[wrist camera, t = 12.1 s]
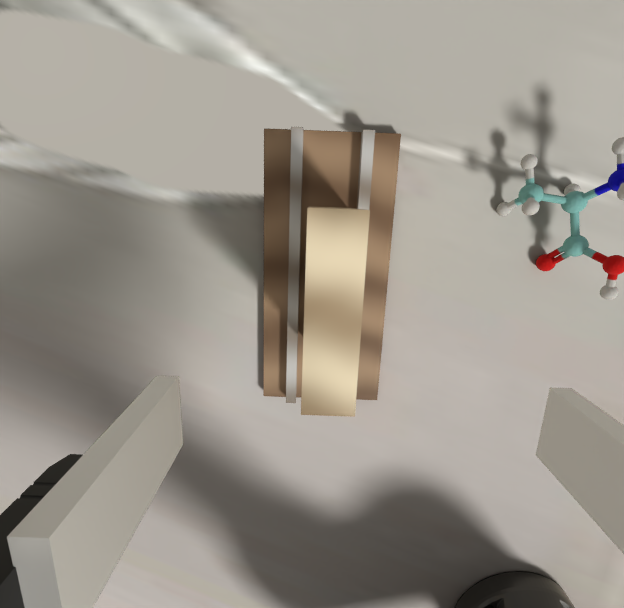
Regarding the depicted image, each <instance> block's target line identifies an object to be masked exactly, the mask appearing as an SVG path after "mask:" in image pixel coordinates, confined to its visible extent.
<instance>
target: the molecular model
mask: <svg viewBox="0 0 624 608" xmlns="http://www.w3.org/2000/svg"><path fill="white" fill-rule="evenodd" d="M612 151H613V152H614V153H615V154H617V171H615V172H614V173H613V174H611V176H610V177H609V180H608V183H606V184H604V185H602V186H599V187H597V188H595V189H593V190H591V191H589V192H587V193H583V192H580V187H579V185H577V184H569V185H568V186H567V187H565V189H564V195H565V196H564V197H563V196H557V195H551V194H545V193H543V189H542V187H541V186H539V185H537V184H534V167H535V166H536V165H537V162H538V159H537V157H536V156H535V155H532V154H528V155H526V156H524V157H523V158H522V160H521V167H522V168H523V169H525V173H526V186H524V187H523V188H522V189H521V190H520V192H519V198H517V199H515V200H513V201H511V202H509V203H507V202H503V203H500V204H499V205H498V207H497V213H498V214H499V215H501V216H506V215H508V214H509V213H510V212H511V209H513V208H514V207H516V206H518V205H520V204H523V205H522V211H523V213H524V214H526V215H534V214H535V213H537V212H538V210H539V207H540V205H539V202H540V201H547V202H552V203H558V204H561V206H562V208H563V210H564V211H566V212H568V213H570V224H571V237H569V238H567V239H566V240H565V242H564V243H563V246H561V247H560V248H558V249H556V250H554V251H553V252H551V253H549V254H544V255H541V256H539V257H538V259H537V260H536V266H537V268H538V269H540V270H542V271H549V270H551V269H553V268H554V266H555V264H556V263H558V262H560V261H562V260H564V259H565V258H567V257H569V256H580V255H582V254H585V255H587V256H589V257H591V258H592V259H594V260H596V261H598V262H600V263H603V269H604V271H605V272H607V273H608V278H607V282H606V286H604V287H602V288H601V290H600V295H601V296H602V297H603V298H604V299H614V298H615V297H617V295H618V293H619V291H618V289H617V287H615V285H616V280H617V276H618V274H621V273H623V272H624V257H622V256H619V255H613V256H610V257H607V256H605V255H603V254H601V253H599V252H596V251H594V250H592V249H590V248H588V246H589V243H588V241H587V239H586V238H585V237H583V236H580V232H579V212H580V211H582V210H583V209H584V208H585V207H586V205H587V202H588V200H589V199H591V198H594V197H596V196H598V195H600V194H602V193H605V192H607V191H609V190H611V189H612V190H613V191H617V196H618V198H619V199H620V200H624V137H622V138H619V139H617V140H616V141H615V142H614V143H613V145H612ZM562 252H565V253H563V254H561V255H559V256H558V257H556V258H554V257H555V256H557V255H558V254H560V253H562Z"/></svg>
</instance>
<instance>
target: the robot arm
mask: <svg viewBox="0 0 624 608" xmlns="http://www.w3.org/2000/svg"><path fill="white" fill-rule="evenodd" d="M182 446H183V432H182V417H181V402H180V387H179V376H156V377H155V378H154V380H153V381H152V382H151V383H150V384H149V385H148V386H147V387H146V388H145V389H144V390H143V391H142V392H141V393H140V395H139V396H138V397H137V398H136V399H135V400H134V401H133V402H132V403H131V404H130V405H129V406H128V407H127V408H126V410H125V411H124V412H123V413H122V414H121V415H120V416H119V417H118V418H117V419H116V420H115V421H114V422H113V424H112V425H111V426H110V427H109V428H108V429H107V430H106V431H105V432H104V433H103V434H102V435H101V436H100V437H99V439H98V440H97V441H96V442H95V443H94V444H93V445H92V446H91V447H90V448H89V449H88V450H87V451H86V452H85V454H84V455H76V454H70V455H68V456H67V457H65V458H63V459H62V460H60V461H58V462H57V463H55V464H53V465H52V466H50V467H49V468H48V469H47V470H46V471H45V472H44V473H43V474H42V475H41V476H40V477H39V478H38V479H37V480H36V481H35V482H34V484H33V485H30V486H29V487H28V488H27V489H26V490H25V491H24V492H23V493H22V494H21V497H20V498H19V499H18V498H17V499H16V500H15V501H14V502H13V503H12V504H11V505H10V506H9V507H8V508H7V509H6V510H5V511H4V512H3V513H2V514H1V515H0V608H93V607H94V605H95V603H96V601H97V599H98V598H99V596H100V594H101V592H102V590H103V589H104V587H105V585H106V583H107V581H108V579H109V578H110V576H111V574H112V572H113V570H114V569H115V567H116V565H117V563H118V561H119V560H120V558H121V556H122V554H123V552H124V551H125V549H126V547H127V545H128V543H129V542H130V540H131V538H132V536H133V534H134V533H135V531H136V529H137V527H138V525H139V523H140V522H141V520H142V518H143V516H144V514H145V513H146V511H147V509H148V507H149V505H150V504H151V502H152V500H153V498H154V496H155V495H156V493H157V491H158V489H159V487H160V486H161V484H162V482H163V480H164V478H165V476H166V475H167V473H168V471H169V469H170V467H171V466H172V464H173V462H174V460H175V458H176V457H177V455H178V453H179V451H180V449H181V448H182ZM536 456H537V457H538V458H539V459H540V460H541V462H542V463H543V464H544V465H545V466H546V467H547V468H548V469H549V471H550V472H551V473H552V474H553V475H554V476H555V477H556V478H557V480H558V481H559V482H560V483H561V484H562V485H563V486H564V487H565V489H566V490H567V491H568V492H569V493H570V494H571V495H572V496H573V498H574V499H575V500H576V501H577V502H578V503H579V504H580V505H581V507H582V508H583V509H584V510H585V511H586V512H587V513H588V514H589V516H590V517H591V518H592V519H593V520H594V521H595V522H596V523H597V525H598V526H599V527H600V528H601V529H602V530H603V531H604V532H605V534H606V535H607V536H608V537H609V538H610V539H611V540H612V541H613V543H614V544H615V545H616V546H617V547H618V548H619V549H620V550H621V552H622V553H623V554H624V425H623V424H621V423H620V422H618V421H617V420H616V419H614V418H613V417H611V416H610V415H609V414H607V413H606V412H604V411H603V410H601V409H600V408H599V407H597V406H596V405H594V404H593V403H592V402H590V401H589V400H587V399H586V398H585V397H583V396H582V395H580V394H579V393H577V392H576V391H575V390H573V389H572V388H550V390H549V394H548V399H547V404H546V409H545V413H544V418H543V423H542V428H541V432H540V437H539V442H538V447H537V451H536ZM455 608H575V607H574V606H573V604H572V603H571V601H570V600H569V598H568V597H567V595H566V593H565V592H564V591H563V589H562V588H561V587H560V586H559V585H558V584H556V583H555V582H554V581H552V580H550V579H548V578H546V577H544V576H541V575H538V574H534V573H528V572H510V573H503V574H499V575H495V576H492V577H489V578H487V579H485V580H483V581H481V582H479V583H477V584H476V585H474V586H473V587H471V588H470V589H469V590H468V591H467V592H466V593H465V594H464V595H463V596H462V597H461V598H460V600H459V601H458V603H457V605H456V607H455Z"/></svg>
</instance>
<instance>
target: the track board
mask: <svg viewBox="0 0 624 608" xmlns="http://www.w3.org/2000/svg"><path fill="white" fill-rule="evenodd" d="M400 138H401V134H394V133H375V130H363V131H362V132H341V131H313V130H303V127H291V130H287V129H264V396H277V397H286V403H296V397H301V396H302V365H303V333H304V301H305V269H306V237H307V208H308V207H310V206H311V207H338V208H354V209H364V210H370V217H369V231H368V245H367V258H366V272H365V285H364V299H363V312H362V326H361V340H360V353H359V367H358V380H357V394H356V399H362V400H377V394H378V383H379V372H380V361H381V350H382V338H383V327H384V316H385V305H386V294H387V283H388V272H389V260H390V249H391V238H392V227H393V216H394V205H395V194H396V182H397V171H398V160H399V149H400Z"/></svg>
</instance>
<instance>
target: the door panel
mask: <svg viewBox="0 0 624 608" xmlns="http://www.w3.org/2000/svg"><path fill="white" fill-rule="evenodd" d="M369 217H370V210H364V209H354V208H338V207H311V206H310V207H308V208H307V237H306V269H305V301H304V333H303V365H302V396H301V415H325V416H354V417H355V408H356V394H357V380H358V367H359V353H360V340H361V326H362V312H363V299H364V285H365V272H366V258H367V245H368V231H369Z"/></svg>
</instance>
